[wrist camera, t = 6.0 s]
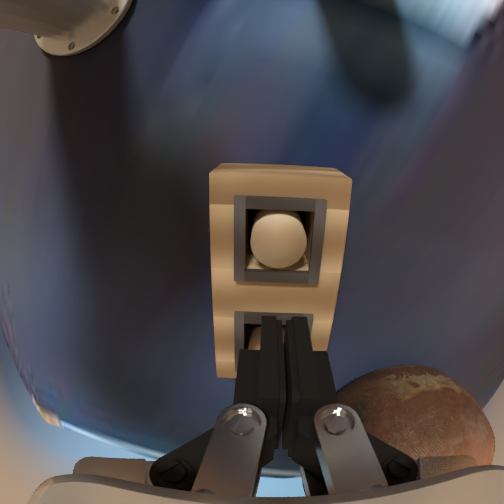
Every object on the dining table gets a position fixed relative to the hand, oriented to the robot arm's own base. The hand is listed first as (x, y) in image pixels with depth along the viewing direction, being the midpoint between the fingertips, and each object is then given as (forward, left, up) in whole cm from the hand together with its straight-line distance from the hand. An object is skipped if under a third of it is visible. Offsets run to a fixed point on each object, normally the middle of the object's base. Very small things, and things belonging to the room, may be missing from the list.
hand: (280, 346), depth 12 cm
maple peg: (0, 0, -18) cm, 18 cm away
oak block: (+5, 0, -18) cm, 19 cm away
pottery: (+25, +16, -19) cm, 35 cm away
